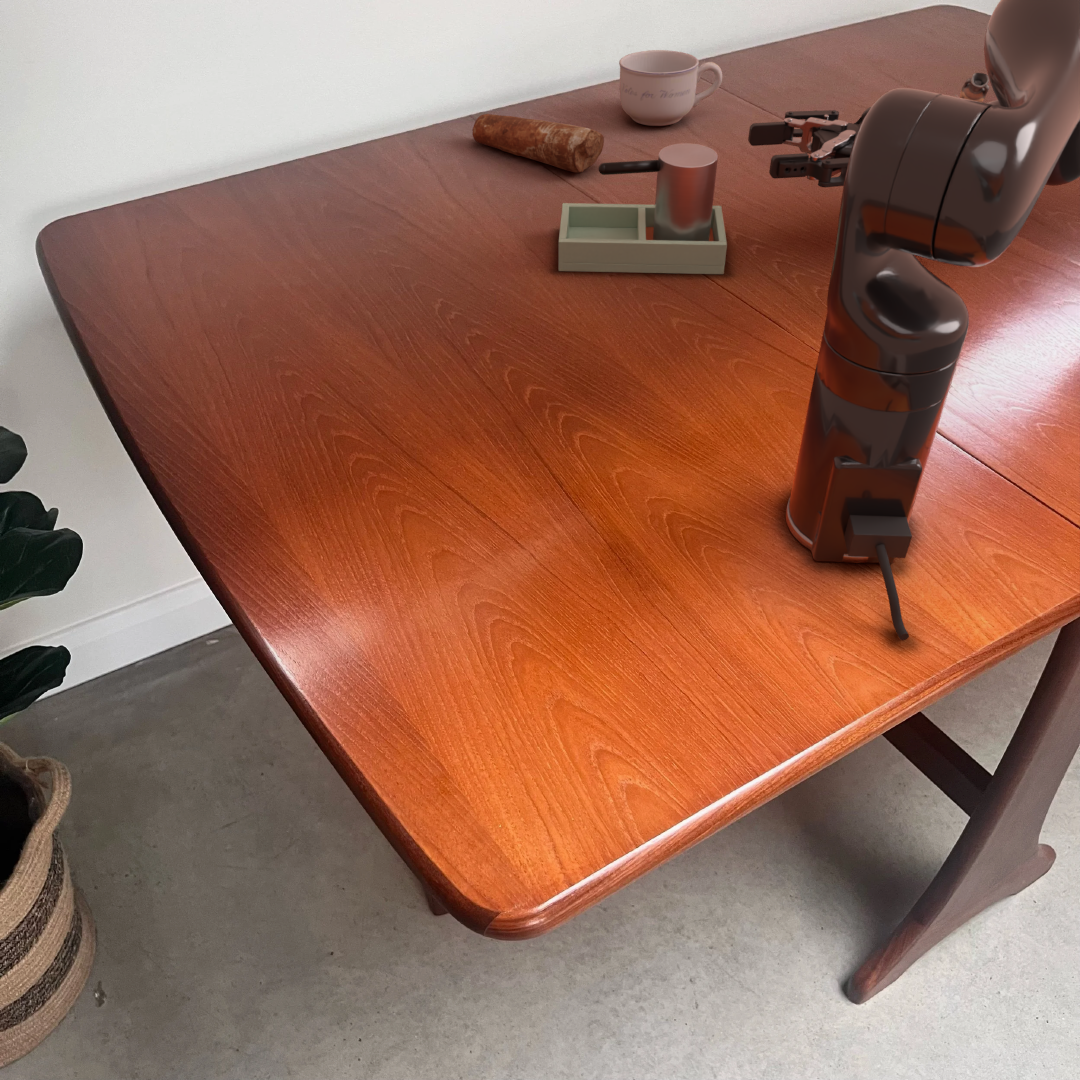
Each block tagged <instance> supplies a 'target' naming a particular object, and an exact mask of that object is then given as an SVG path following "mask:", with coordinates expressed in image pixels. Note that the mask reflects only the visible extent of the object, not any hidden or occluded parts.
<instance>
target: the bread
mask: <svg viewBox="0 0 1080 1080" xmlns="http://www.w3.org/2000/svg"><path fill="white" fill-rule="evenodd" d="M472 139H474V141H475V142H477V143H479V144H482V145H484V146H488V147H491V148H495V149H498V150H501V151H502V152H505V153H508V154H512V155H515V156H517V157H518V156H519V157H523V158H526V159H529V160H533V161H537V162H540V163H543V164H546V165H550V166H552V167H555V168H558V169H561V170H563V171H564V170H565V171H568V172H571V173H576V174H578V173H583V172H584V171H585V170H587V169H588V168H590V167H592V166H593V165H594V164H595V163H596V162H597V160H598V158H599V157H600V156H601V154H602V152H603V149H604V144H605V138H604V135H603V134H602V133H601V132H598V131H597V130H595V129H592V128H588V127H584V126H580V125H579V126H578V125H573V124H569V123H561V122H556V121H555V122H553V121H549V120H548V121H547V120H541V119H534V118H524V117H518V116H514V115H499V114H491V113H484V114H481V115H480V116H478V117H477V118H476V119H475V121H474V123H473V127H472Z"/></svg>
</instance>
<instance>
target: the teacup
mask: <svg viewBox="0 0 1080 1080" xmlns="http://www.w3.org/2000/svg"><path fill="white" fill-rule="evenodd" d="M699 64H700V62H699V59H698V58H697V57H696V56H694V55H692V54H689V53H686V52H683V51H676V50H667V49H651V50H641V51H636V52H632V53H631V52H630V53H629V54H626V55H624V56H622V57H621V58H620V59H619V61H618V65H619V101H620V105H621V108H622V110H623V112H625V114H627V115H628V116H629V117H630V118H631V120H633V121H634V122H635V123H637V124H640V125H643V126H650V127H664V126H669V125H674V124H677V123H678V122H680V121H681V120H682V119H683V118H684V117H685V116H686V115H687V114H689V112H691V110H692V108H696V107H697V106H698V105H699V104H700V103H701V101H703V100H705V99H707V98H709V97H711V96H712V95H713V94H714V93H715V92H717V91H718V89H719V88H720V87H721V85H722V82H723V72H722V69H721V67H720V66H719V65H718V64H717V63H715V62H713V61H708V62H707V61H706V62H704V63H702V64H700V65H699ZM707 71H708V72H709V71H711V72H713V74H714V82H713V83H712V84H711V85H710V86H709V87H707V89H705V90H703V91H701V92H698V93H697V85H698V83H699V82H700V81H701V77H702V76H703V74H704V73H705V72H707Z"/></svg>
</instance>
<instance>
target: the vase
mask: <svg viewBox="0 0 1080 1080" xmlns="http://www.w3.org/2000/svg"><path fill="white" fill-rule="evenodd" d="M964 77H965V76H963V77H962V79H964ZM989 83H990V80H989V77H988V74H986V73H983V72H974V73H973V74H972V76H971V77H970V78H966V79H965V81H964V83H963V85H962V87H961V89H960V93H959V98H963V99H968V100H973V101H978V102H983V101H984V100H985V98H986V96H987V94H988V92H989V91H990V85H989ZM954 97H957V94H954ZM983 103H988V102H983Z"/></svg>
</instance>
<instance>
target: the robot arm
mask: <svg viewBox="0 0 1080 1080" xmlns="http://www.w3.org/2000/svg"><path fill="white" fill-rule="evenodd" d="M983 53H984V64H985V69H986V72H987V75H988V77H989V83H990V86H991V88H992V90H993V94H994V95H995V97H996V99H995V100H992V101H988V102H987V103H986V102H984V103H983V101H982V102H978V101H973V100H968V99H963V98H960V96H955V95H954V96H953V95H949V94H942V93H939V92H933V91H930V90H929V91H928V90H923V89H919V88H918V89H917V88H911V87H897V88H892V89H890V90H888V91H887V92H885V93H883V94H882V95H880V97H879V98H877V100H876V101H875V102H874V103H873V104H872V105H871V106H870V107H867V108H866V109H865V110H864V111H863V112H862V113H861V116H860V117H859V118H858V119H857V121H855V122H854V123H853V122H848V121H846V120H841V119H839V116H840V111H839V110H835V109H829V110H794V111H793V110H790V111H786V112H785V113H784V119H783V121H774V122H773V121H771V122H769V121H767V122H754V123H751V124H750V126H749V129H748V130H749V131H748V137H747V138H748V139H747V140H748V143H749V145H750V146H752V147H757V146H758V147H759V146H775V145H777V146H778V145H788V146H793V147H797V148H799V151H800V152H801V153H787V154H785V153H783V154H774V155H773V156H772V157H771V159H770V164H769V171H768V173H769V175H770V176H771V178H772V179H774V180H776V179H790V178H791V179H792V178H806V179H807V180H808V181H818V182H817V186H818V187H820V188H835V187H843V188H842V194H841V199H840V206H839V207H840V208H839V214H838V215H839V216H838V224H837V230H836V231H837V233H836V240H835V247H834V252H833V253H834V254H833V260H832V267H831V268H832V269H831V273H830V278H829V283H828V290H827V297H826V316H825V321H824V326H823V331H822V336H821V340H820V346H819V352H818V356H817V361H816V365H815V370H814V375H813V380H812V385H811V390H810V395H809V400H808V405H807V406H808V407H807V411H806V415H805V420H804V425H803V430H802V434H801V435H802V436H801V440H800V446H799V450H798V454H797V455H798V456H797V459H796V460H797V461H796V466H795V471H794V475H793V481H792V487H791V492H790V496H789V498H788V501H787V506H786V511H785V522H786V525H787V527H788V529H789V531H790V533H791V534H792V536H793V537H794V538H795V539H796V540H797V541H798V543H800V544H801V545H802V546H804V547H805V548H806V549H808V550H809V551H810V553H811V555H812V559H813V560H814V561H816V562H833V563H834V562H836V563H852V564H853V563H854V564H855V563H856V564H858V563H859V564H860V563H862V564H863V563H864V564H865V563H866V564H879V567H880V571H881V574H882V579H883V583H884V586H885V590H886V594H887V599H888V603H889V604H888V605H889V611H890V617H891V621H892V624H893V625H892V626H893V628H894V631H895V633H896V635H897V637H898V639H899V640H901V641H906V640H907V639H909V638H910V635H909V632H908V630H907V629H906V627H905V624H904V621H903V617H902V611H901V604H900V598H899V595H898V590H897V586H896V582H895V578H894V573H893V570H892V567H891V564H894V563H895V562H896V559H906V556H907V554H908V551H909V548H910V544H911V541H912V538H913V534H912V532H911V527H910V525H909V523H910V519H911V516H912V513H913V509H914V507H915V502H916V500H917V497H918V493H919V489H920V486H921V482H922V480H923V476H924V473H925V469H926V467H927V463H928V459H929V456H930V453H931V450H932V447H933V443H934V440H935V437H936V434H937V430H938V427H939V424H940V422H941V421H940V420H941V418H942V414H943V411H944V408H945V404H946V402H947V398H948V395H949V392H950V389H951V386H952V383H953V379H954V377H955V374H956V373H955V372H956V369H957V366H958V363H959V360H960V356H961V353H962V351H963V347H964V345H965V341H966V338H967V334H968V331H969V330H968V329H969V326H970V315H969V310H968V308H967V305H966V303H965V301H964V300H963V298H962V297H961V296H960V294H959V293H958V292H957V291H955V289H954V288H952V286H950V285H949V284H947V283H946V282H945V281H944V280H942V279H941V278H940V277H938V276H937V275H936V274H935V273H933V272H932V271H931V270H929V269H928V268H927V266H925V265H924V264H923V263H922V262H921V261H920V260H919V259H918V258H917V257H920V258H924V259H928V260H931V261H936V262H938V263H943V264H947V265H951V266H954V267H955V266H956V267H962V268H963V267H964V268H979V267H985V266H986V265H989V264H991V263H993V262H994V261H995V260H997V259H998V258H999V257H1001V256H1002V254H1003V253H1004V252H1006V250H1007V249H1008V248H1009V247H1010V246H1011V244H1012V243H1013V242H1014V240H1015V239H1016V238H1017V236H1018V235H1019V233H1020V232H1021V231H1022V229H1023V227H1024V226H1025V224H1026V222H1027V220H1028V219H1029V216H1030V215H1031V213H1032V211H1033V210H1034V207H1035V206H1036V204H1037V202H1038V200H1039V198H1040V196H1041V194H1042V193H1043V190H1044V188H1046V187H1045V186H1049V187H1056V186H1063V185H1067V184H1069V183H1072V182H1074V181H1075V180H1078V179H1079V178H1080V0H999V2H997V5H996V6H995V8H994V9H993V12H992V14H991V15H990V17H989V21H988V23H987V26H986V30H985V34H984V45H983ZM838 174H840V175H838ZM836 175H838V176H836Z"/></svg>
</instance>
